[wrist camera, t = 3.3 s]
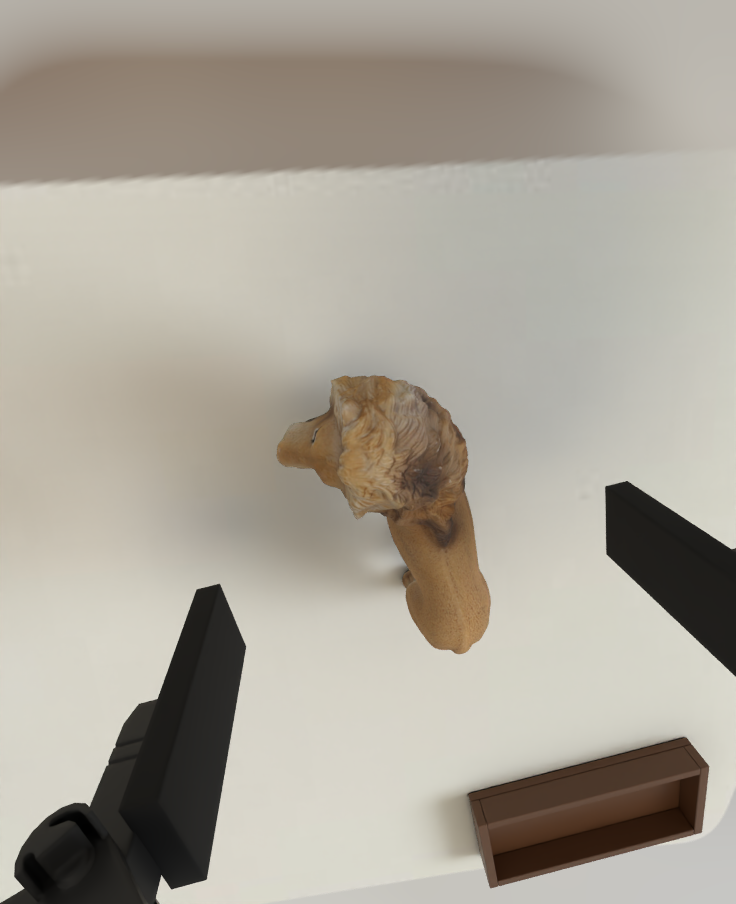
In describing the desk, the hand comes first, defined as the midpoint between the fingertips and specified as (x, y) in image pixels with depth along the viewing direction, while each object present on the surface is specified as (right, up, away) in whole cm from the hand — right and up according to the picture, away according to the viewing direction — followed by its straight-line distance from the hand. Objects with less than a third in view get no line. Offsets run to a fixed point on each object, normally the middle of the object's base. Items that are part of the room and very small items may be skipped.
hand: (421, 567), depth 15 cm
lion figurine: (-1, +3, +6) cm, 7 cm away
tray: (+13, -20, +17) cm, 29 cm away
